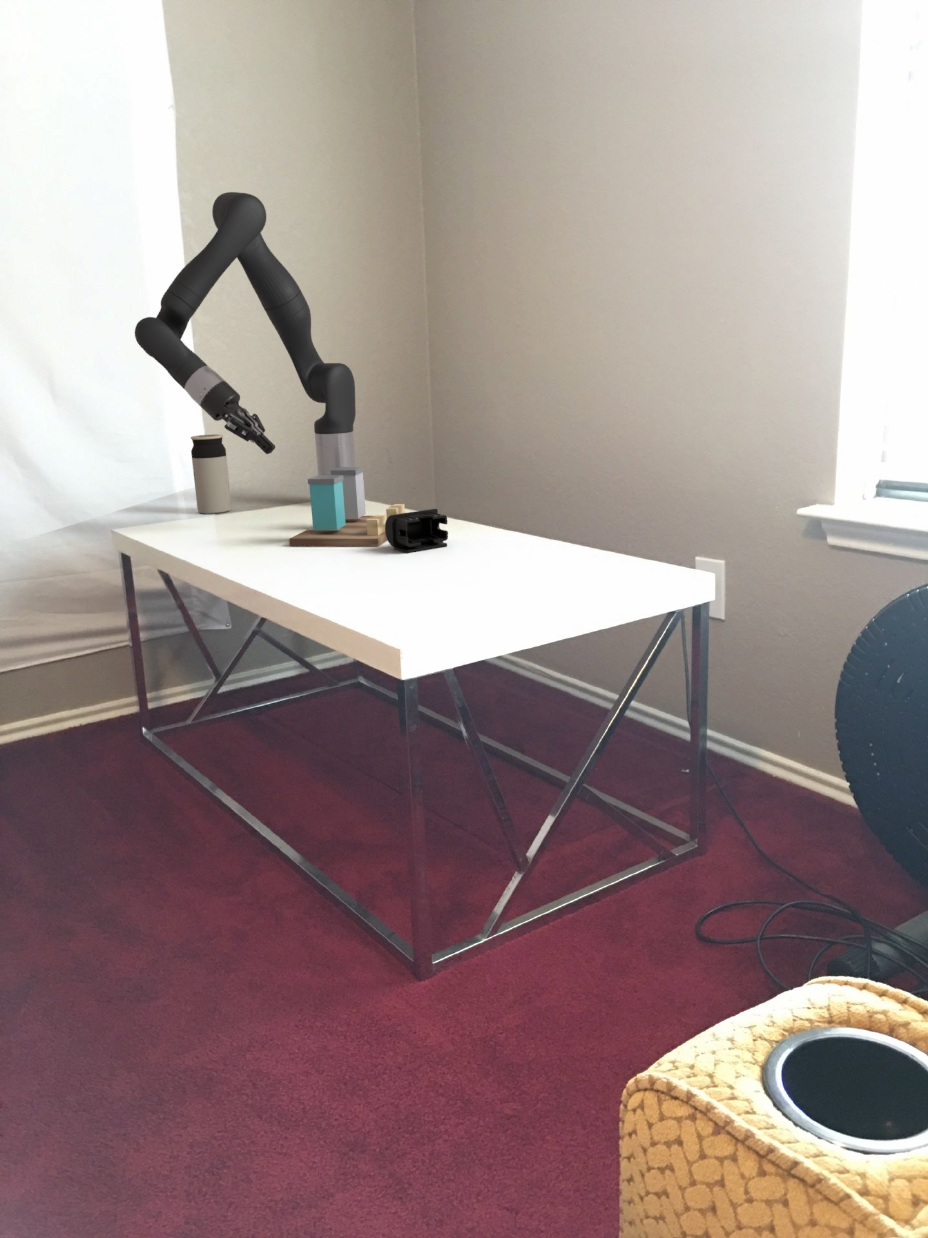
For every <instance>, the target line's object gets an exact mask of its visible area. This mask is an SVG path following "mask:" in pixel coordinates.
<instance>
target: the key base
mask: <svg viewBox="0 0 928 1238" xmlns="http://www.w3.org/2000/svg"><path fill="white" fill-rule="evenodd" d="M405 507H406V506H405V503H397V504H396V503H394V504H392V505H390V506H389V507H387V508H385V514H375V515H363V516H362V517H360V518H345V524H346V525H345V526H343V527H341V528H340V529H338V530H313V526H312V527H309V528H308V529H306V530H303V531H301V532H300V533H298V534H296V535H294V536H292V537H290V538H289V539H288V541H289V547H376V548H377V547H380V546H381V545H383V544H384V543H385V542H388V540H387V537H386V533H385V523H386V520H387V518H388V517H389V516H390V515H395V514H402V513H406V511H405V510H406V508H405Z"/></svg>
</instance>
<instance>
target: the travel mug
mask: <svg viewBox="0 0 928 1238" xmlns="http://www.w3.org/2000/svg"><path fill="white" fill-rule="evenodd" d="M223 438H224V435H223V434H220V433H219V434H217V433H213V434H202V435H201V434H200V435H192V436H190V439H191V441H192V444H193V445H192V449H191V450H190V453H191V461H192V462H191V463H192V469H193V470H192V471H193V480H194V489H195V498H196V508H197V512H198V513H200V514H203V515H216V514H217V515H218V514H224V513H225V514H226V513H228V512H230V511H231V510H232V507H233V506H232V498H231V489H230V479H229V470H228V457H227V449H226V448H225V446H224V444H223Z"/></svg>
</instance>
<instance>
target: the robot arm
mask: <svg viewBox="0 0 928 1238" xmlns="http://www.w3.org/2000/svg"><path fill="white" fill-rule="evenodd" d="M211 211H212V215H211V216H212V219H213V222H214V225H215V227H216V229H217V230H216V232H215V233H214V235H213V237H212V238H211V239H210V241H209V242H208V243H207V244H206V245H205V247H204V248H202V250H201V251H200V252H199V253H198V254H197V255H195V256H194V257H193V258H192V259H191V260H190V261H189V262H188V263H187V264H186V265H185V266H183V268H182V269H181V270H180V272H179V273H178V274H177V275H176V276H175V278H174V279H173V281H172V283H170V285H169V286H168V288H167V289H166V291H165V292H164V293H163V295H162V297H161V299H160V310H159V311H158V314H157V315H156V317H153V316H147V317H144V318H141V319H140V320H139V321H138V322H137V323H136V325H135V328H134V338H135V341H136V342H137V345H139V347H140V348H141V349H143V351H144V352H145V353H146V354H147V355H148V356H149V357H152V358H153V359H154V360H155V361H156V362H157V363H158V364H160V365H161V366H162V367H163V368H164V369H165V370H166V371H167V373H168V374H169V376H171V378H172V379H173V380H174V381H175V382H176V383H177V384H178V385H179V386H180V387H181V388H182V389H183V390H184V391H185V392H186V393H187V394H188V395H189V396H190V398H191V399H192V400H193V401H194V402H195V403H196V404H197V405H198V406H199V407H200V408H202V410H203V411H204V412H205V413H207V414H208V415H209V417H211V419H213V420H214V421H216V422H219V421H222V420H223V421H224V422H226V423H225V425H224V426H223V427H224V428H225V430H227V431H228V432H230V433H232V434H234V435H236V436H237V437H239V438H241V439H242V440H244V441H246V442H250V443H252V444H253V443H254V444H255V445H256V446H257V447H258V448H259V449H260V450H262V452H264V453H265V454H266V455H268V454H271V453H272V452H273V451H274V450H275V449H276V445H275V444H274V443H273V442H272V441H271V440H270V439H269V438H268V437H267V436H266V435H265V432H266V429H265V427H264V425H263V423H262V421H261V419H260V417H259V416H258V414H256V413H253V414H252V415H251V414H250V412H249V411H248V410H247V409H246V408H245V407H242V406H241V405H240V401H241V394H239V393H238V392H237V390H235V389H234V388H233V387H232V386H231V385H230V384H229V382H227V381H226V379H224V378H223V377H222V376H221V375H220V374H219V373H218V372H216V370H214V369H213V368H211V367H210V366H209V365H208V364H207V363H206V362H205V361H204V360H202V358H201V357H199V356H198V355H197V354H196V353H195V352H194V351H193V350H192V349H190V348H189V347H188V346H187V345H186V344H185V343H184V342H183V341H182V340H181V339H182V338H183V336H184V333H185V331H186V329H187V327H188V325H189V322H190V320H191V318H192V317H193V316H194V315H195V313H196V312H197V310H198V309H199V307H200V306H201V304H203V303H204V300H205V298H206V297H207V296H208V295H209V293H210V292H211V290H212V289H213V287H214V286H215V284H216V283H217V282H218V281H219V280H220V278H221V277H222V276H223V274H224V272H226V270H228V268H229V267H230V266H231V265H232V263H234V261H235V260H236V259H237V260H238V262H239V263H240V266H241V267H242V269H243V271H244V273H245V275H246V276H247V279H248V281H249V282H250V285H251V287H252V288H253V290H254V292H255V294H256V296H257V298H258V300H259V301H260V304H261V306H262V308H263V310H264V311H265V313H266V316H267V317H268V319H269V320H270V322H271V324H272V326H273V328H274V329H275V330H276V332H277V334H278V336H279V338H280V340H281V342H282V344H283V346H284V348H285V349H286V351H287V353H288V355H289V357H290V359H291V362H292V364H293V366H294V368H295V371H296V374H297V376H298V378H299V381H300V383H301V385H302V388H303V389H304V391H305V394H306V395H307V396H308V397H309V399H311V400H312V401H313V402H314V403H315V402H316V403H319V404H325V408H324V409H325V410H324V414H323V415H322V416H321V417H320V418H318V419H316V420H315V421H314V423H313V424H314V425H313V429H314V441H315V442H314V443H315V451H316V453H315V454H316V465H317V466H316V467H317V475H331V470H333V469H336V468H338V467H357V462H356V461H357V460H356V450H355V449H356V448H355V434H354V423H355V419H356V413H357V412H356V411H357V410H356V384H355V383H356V382H355V377H354V374H353V372H352V370H351V368H350V367H349V366H348V365H347V364H345V363H342V362H341V363H340V362H325V361H324V360H322V358H321V356H320V355H319V353H318V351H317V349H316V347H315V345H314V342H313V339H312V338H313V337H312V314H311V313H312V312H311V308H310V306H309V304H308V302H307V300H306V298H305V295H304V294H303V291H302V290H301V288H300V286H299V284H298V283H297V281H296V280H295V278H294V277H293V276H292V275H291V273H290V272H289V271H288V270H287V268H286V267H285V265H283V264H282V263H281V261H280V260H279V259H278V258H277V257H276V256H275V254H274V253H273V252H272V251H271V249H270V248H269V246H268V244H267V243H266V241H265V240H264V237H263V235H262V234H261V233H262V231H263V230H264V228H265V225H266V223H267V209H266V207H265V206H264V204H263V201H261V200H260V199H259V197H257V196H255V195H253V194H250V193H246V192H238V191H227V192H223V193H221V194H220V195H218V196H217V197H216V198H215V200H214V202H213V204H212V210H211Z"/></svg>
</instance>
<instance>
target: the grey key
mask: <svg viewBox="0 0 928 1238" xmlns="http://www.w3.org/2000/svg"><path fill="white" fill-rule="evenodd" d="M364 472H365V469H364V466H356V467H338V468H336V469H333V470H331V475H343V479H344V480H343V481H342V483H343V497H344V510H345V518H360V517H362V516H366V515H367V511H366V510H367V509H366V498H365V482H364Z"/></svg>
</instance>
